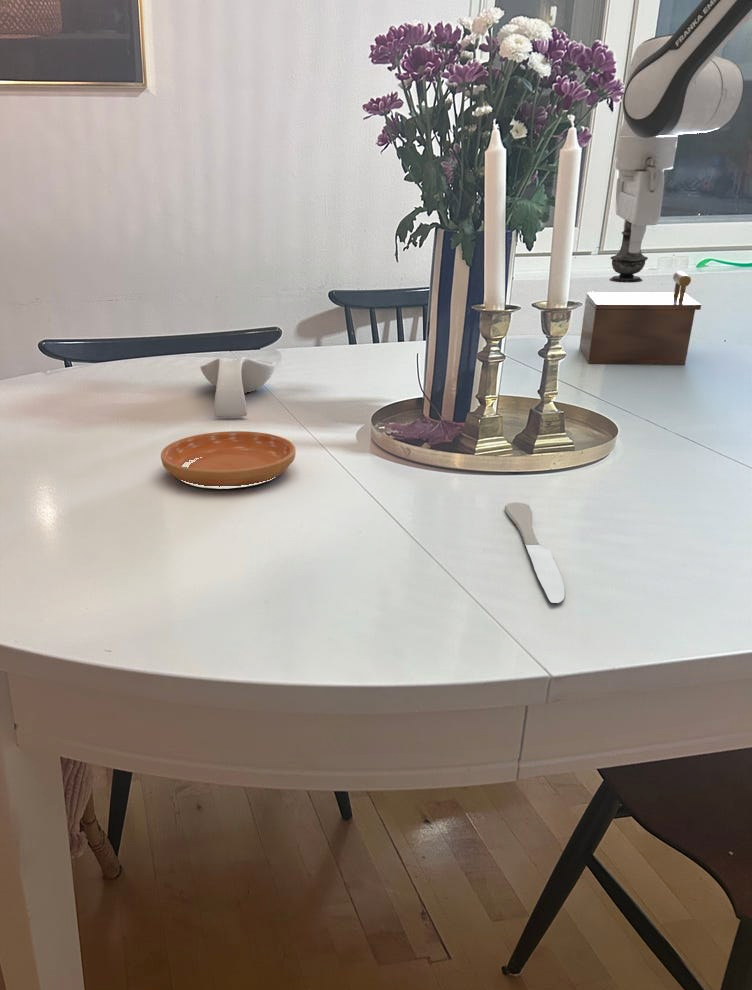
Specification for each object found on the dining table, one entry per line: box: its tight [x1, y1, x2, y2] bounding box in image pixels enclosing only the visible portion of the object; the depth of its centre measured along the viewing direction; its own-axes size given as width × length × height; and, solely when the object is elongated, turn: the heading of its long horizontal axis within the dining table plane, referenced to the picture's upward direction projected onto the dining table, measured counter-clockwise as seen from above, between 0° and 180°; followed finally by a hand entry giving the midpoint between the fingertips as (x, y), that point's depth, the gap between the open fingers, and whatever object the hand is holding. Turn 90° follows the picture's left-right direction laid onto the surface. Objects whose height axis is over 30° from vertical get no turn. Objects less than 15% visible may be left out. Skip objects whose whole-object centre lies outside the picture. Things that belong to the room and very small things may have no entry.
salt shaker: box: [609, 220, 649, 284], centre depth 154 cm, size 6×6×12 cm
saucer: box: [160, 430, 297, 487], centre depth 111 cm, size 16×16×3 cm
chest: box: [578, 296, 696, 366], centre depth 161 cm, size 16×13×9 cm
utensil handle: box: [504, 502, 540, 545], centre depth 89 cm, size 1×24×3 cm
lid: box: [585, 270, 702, 311], centre depth 157 cm, size 16×13×5 cm
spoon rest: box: [199, 356, 276, 418], centre depth 141 cm, size 24×12×7 cm, turn 179°
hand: (630, 251), depth 155 cm, fingers closed on salt shaker, 3 cm apart
